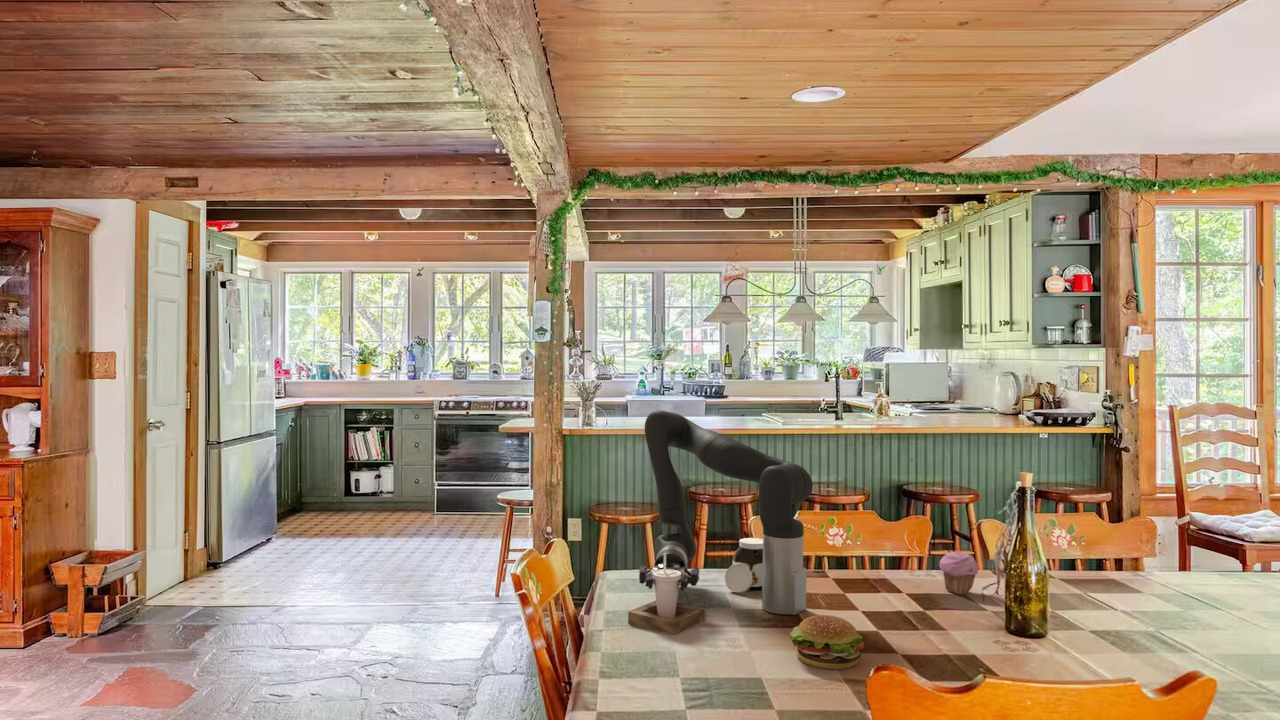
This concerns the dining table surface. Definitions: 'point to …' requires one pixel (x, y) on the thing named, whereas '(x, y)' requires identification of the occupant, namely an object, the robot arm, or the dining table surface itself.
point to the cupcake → (958, 572)
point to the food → (827, 642)
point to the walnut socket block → (666, 618)
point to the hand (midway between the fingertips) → (666, 584)
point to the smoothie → (666, 590)
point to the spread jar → (746, 566)
